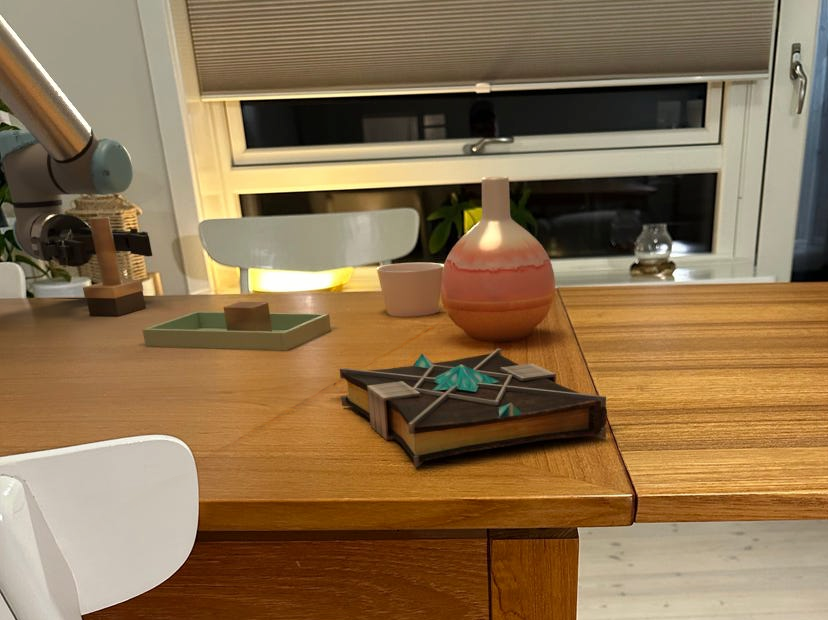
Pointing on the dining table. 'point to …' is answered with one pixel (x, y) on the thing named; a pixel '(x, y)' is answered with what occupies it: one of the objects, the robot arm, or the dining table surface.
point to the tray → (236, 332)
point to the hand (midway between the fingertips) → (116, 249)
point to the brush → (110, 277)
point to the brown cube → (248, 316)
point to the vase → (497, 274)
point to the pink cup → (411, 288)
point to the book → (470, 405)
